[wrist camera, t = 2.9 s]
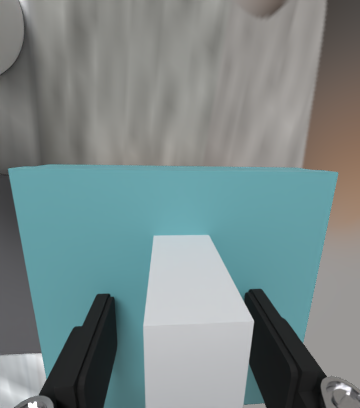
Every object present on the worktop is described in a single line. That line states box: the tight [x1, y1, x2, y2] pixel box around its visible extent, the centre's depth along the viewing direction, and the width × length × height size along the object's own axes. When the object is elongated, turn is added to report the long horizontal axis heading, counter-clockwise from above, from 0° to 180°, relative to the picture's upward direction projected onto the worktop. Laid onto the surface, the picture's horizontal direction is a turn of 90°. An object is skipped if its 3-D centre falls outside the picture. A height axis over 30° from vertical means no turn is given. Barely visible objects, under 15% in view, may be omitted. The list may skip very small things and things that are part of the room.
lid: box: [8, 164, 338, 408], centre depth 10 cm, size 14×14×8 cm
